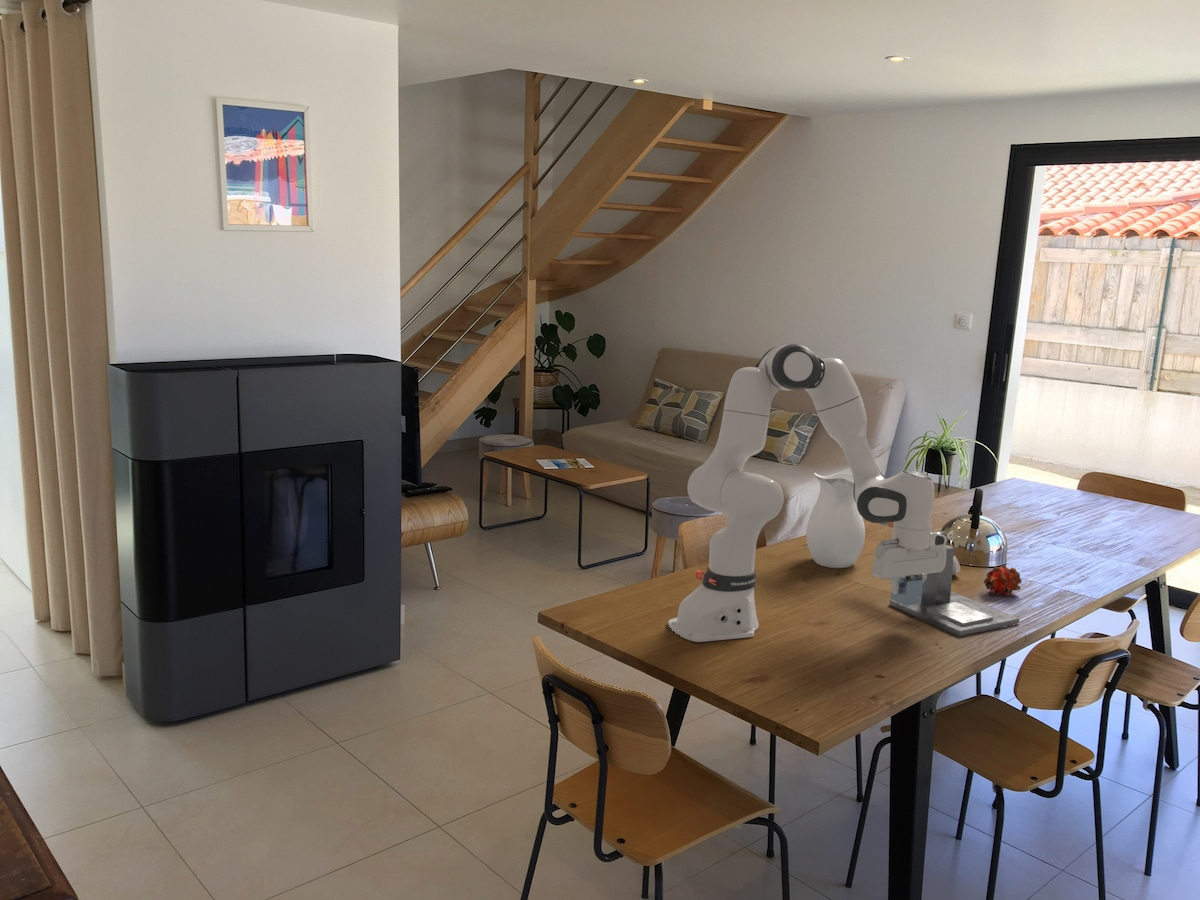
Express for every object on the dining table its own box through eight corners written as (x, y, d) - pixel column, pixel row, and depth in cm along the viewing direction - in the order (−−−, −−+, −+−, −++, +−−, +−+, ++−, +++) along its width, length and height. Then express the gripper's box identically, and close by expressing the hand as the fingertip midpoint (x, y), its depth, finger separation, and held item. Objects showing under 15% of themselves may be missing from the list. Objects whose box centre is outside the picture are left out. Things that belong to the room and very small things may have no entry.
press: (959, 637, 229) (965, 571, 225) (889, 605, 250) (893, 544, 247) (1018, 624, 237) (1024, 560, 234) (946, 594, 258) (950, 536, 255)
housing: (905, 605, 230) (907, 574, 228) (890, 599, 234) (893, 568, 233) (921, 603, 232) (923, 572, 230) (906, 597, 236) (909, 566, 235)
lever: (935, 546, 244) (936, 534, 244) (873, 524, 265) (874, 513, 264) (947, 544, 246) (948, 532, 245) (884, 522, 266) (885, 511, 266)
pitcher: (837, 575, 274) (842, 481, 269) (793, 560, 287) (797, 470, 282) (889, 560, 288) (895, 471, 283) (845, 547, 301) (850, 461, 296)
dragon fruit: (1020, 596, 262) (988, 609, 257) (999, 572, 267) (968, 584, 262) (1035, 579, 256) (1003, 591, 251) (1013, 554, 260) (982, 566, 255)
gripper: (886, 544, 223) (881, 600, 225) (952, 537, 231) (947, 591, 234) (868, 537, 229) (864, 592, 231) (933, 530, 237) (928, 584, 239)
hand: (906, 592), depth 232 cm, fingers closed on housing, 5 cm apart
